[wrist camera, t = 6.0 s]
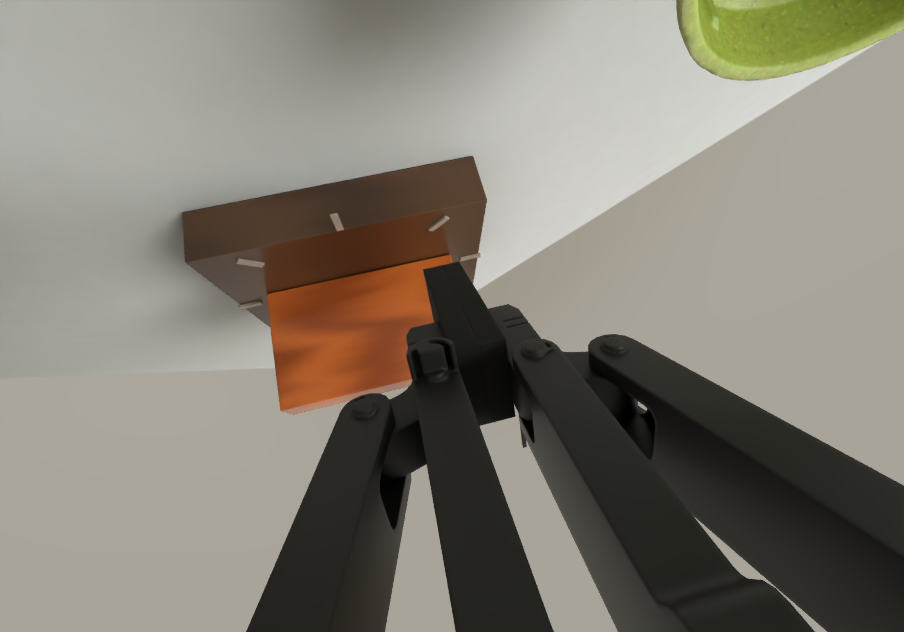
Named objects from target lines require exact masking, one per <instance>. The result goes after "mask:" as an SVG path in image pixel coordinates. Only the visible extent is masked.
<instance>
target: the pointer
mask: <svg viewBox="0 0 904 632" xmlns="http://www.w3.org/2000/svg"><path fill="white" fill-rule="evenodd" d="M450 263H453V262H452V258H451V255H445V256H440V257H436V258H431V259H426V260H422V261H417V262H412V263H408V264H403V265H399V266H394V267H389V268H385V269H380V270H375V271H371V272H366V273H362V274H357V275H352V276H348V277H343V278H339V279H334V280H329V281H325V282H320V283H315V284H311V285H306V286H302V287H297V288H292V289H288V290H283V291H278V292H274V293H269V294H267V303H268V312H269V320H270V328H271V336H272V344H273V353H274V361H275V369H276V377H277V385H278V394H279V402H280V410H281V411H283V412H287V413H290V414H298V413H302V412H306V411H310V410H314V409H319V408H322V407H326V406H331V405H335V404H339V403H343V402H347V401H351V400H352V399H354V398H356V397H359V396H361V395H365V394H369V393H384V392H388V391H392V390H396V389H401V388H404V387H409V386H410V385H411V383H412V378H411V374H410V370H409V366H408V362H407V358H406V354H407V350H408V345H407V340H406V335H407V333H408V332H409V330H410V328H412V327H416V326H421V325H425V324H429V323H434V320H433V315H432V310H431V306H430V301H429V296H428V291H427V286H426V282H425V277H424V272H423V269H427V268H432V267H436V266H441V265H445V264H450Z"/></svg>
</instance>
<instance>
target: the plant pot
mask: <svg viewBox="0 0 904 632" xmlns="http://www.w3.org/2000/svg"><path fill="white" fill-rule="evenodd" d="M677 17H678V24H679V29H680V32H681V35H682V38H683V41H684V43H685V45H686V47H687V49H688V51H689V54H690V56H691V57H692V58H693V60H694V61H695V62H696V63H697V64H698V65H699V66H700V67H702V68H704V69H706V70H707V71H709V72H710V73H712V74H714V75H717V76H719V77H722V78H725V79H731V80H746V81H753V80H765V79H770V78H777V77H782V76H787V75H789V74H793V73H797V72H801V71H804V70H809V69H812V68H815V67H818V66H821V65H824V64H826V63H828V62H831V61H834V60H837V59H839V58H841V57H844V56H846V55H849V54H851V53H854V52H856V51H859V50H861V49H863V48H865V47H867V46H870V45H872V44H874V43H876V42H878V41H880V40H883V39H885V38H887V37H890V36H892V35H894V34H896V33H898V32H899V31H902V30H904V0H677Z"/></svg>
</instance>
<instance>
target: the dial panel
mask: <svg viewBox="0 0 904 632" xmlns="http://www.w3.org/2000/svg"><path fill="white" fill-rule="evenodd" d="M486 202H487V198H486V195H485V192H484V189H483V186H482V183H481V179H480V176H479V173H478V170H477V167H476V164H475V161H474V157H473V156H470V157H465V158H460V159H455V160H450V161H445V162H440V163H434V164H429V165H424V166H419V167H414V168H409V169H404V170H399V171H393V172H388V173H383V174H378V175H373V176H368V177H363V178H358V179H353V180H347V181H342V182H337V183H332V184H327V185H322V186H317V187H312V188H306V189H301V190H296V191H291V192H286V193H281V194H276V195H271V196H265V197H260V198H255V199H250V200H245V201H240V202H235V203H230V204H225V205H219V206H214V207H209V208H204V209H199V210H194V211H189V212H184V213H182V220H183V237H184V254H185V262H186V263H187V264H188V265H190V266H191V267H192V268H193V269H195V270H196V271H197V272H199V273H200V274H201V275H203V276H204V277H205V278H206V279H208V280H209V281H210V282H212V283H213V284H214V285H216V286H217V287H218V288H219V289H221V290H222V291H223V292H225V293H226V294H227V295H229V296H230V297H231V298H233V299H234V300H235V301H236V302H238V303H239V304H240V305H239V308H240V309H245V308H246V309H247V310H248V311H249V312H251V313H252V314H253V315H255V316H256V317H257V318H259V319H260V320H261V321H262V322H264V323H265V324H266V325H268V326H269V327H270V320H269V312H268V303H267V294H269V293H274V292H278V291H283V290H288V289H292V288H297V287H302V286H306V285H311V284H315V283H320V282H325V281H329V280H334V279H339V278H343V277H348V276H352V275H357V274H362V273H366V272H371V271H375V270H380V269H385V268H389V267H394V266H399V265H403V264H408V263H412V262H417V261H422V260H426V259H431V258H436V257H440V256H445V255H451V258H452V262H453V263H455V262H460V264H461V265H462V267H463V269H464V270H465V272H466V274H467V275H468V277H469V279H470V280H471V282H472V284H473V280H474V274H475V268H476V262H477V258H478V257H480V253H478V250H479V244H480V238H481V232H482V226H483V220H484V214H485V208H486Z"/></svg>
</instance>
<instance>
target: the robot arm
mask: <svg viewBox="0 0 904 632" xmlns="http://www.w3.org/2000/svg"><path fill="white" fill-rule="evenodd" d="M423 272H424V277H425V282H426V286H427V291H428V296H429V301H430V306H431V310H432V315H433V320H434V323H429V324H425V325H421V326H416V327H412V328H410V330H409V332H408V333H407V335H406V340H407V345H408V350H407V354H406V358H407V362H408V366H409V370H410V374H411V378H412V383H411V385H410V386H409V387H408V389H407V390H406V391H404V392H403V393H402V394H400V395H398V396H396V397H395V398H392V399H390V400H389V399H388V398H387V397H386V396H385V395H382V394H380V393H369V394H365V395H361V396H359V397H356V398H354V399H352V400H351V401H350V402H348V403H347V404H346V405H345V406H344V407H343V409H342V410H341V412H340V414H339V417H338V419H337V421H336V424H335V426H334V428H333V431H332V433H331V435H330V438H329V440H328V443H327V445H326V447H325V449H324V452H323V454H322V456H321V459H320V461H319V463H318V466H317V468H316V470H315V473H314V475H313V477H312V480H311V482H310V484H309V487H308V489H307V491H306V494H305V496H304V498H303V501H302V503H301V505H300V508H299V510H298V512H297V515H296V517H295V519H294V522H293V524H292V526H291V529H290V531H289V533H288V536H287V538H286V540H285V543H284V545H283V547H282V550H281V552H280V554H279V557H278V559H277V561H276V564H275V566H274V569H273V571H272V573H271V575H270V578H269V580H268V582H267V585H266V587H265V589H264V592H263V594H262V596H261V599H260V601H259V603H258V606H257V608H256V610H255V613H254V615H253V617H252V620H251V622H250V624H249V627H248V629H247V631H246V632H385V627H386V622H387V616H388V611H389V605H390V599H391V593H392V587H393V582H394V576H395V570H396V565H397V559H398V553H399V547H400V542H401V536H402V529H403V524H404V519H405V513H406V507H407V501H408V495H409V490H410V484H411V472H413V471H415V470H416V469H418V468H420V467H422V466H424V465H426V464H427V468H428V474H429V480H430V485H431V491H432V497H433V503H434V508H435V515H436V520H437V526H438V532H439V538H440V543H441V549H442V555H443V560H444V566H445V572H446V578H447V584H448V589H449V595H450V601H451V607H452V613H453V618H454V624H455V630H456V632H554V631H553V629H552V626H551V624H550V621H549V618H548V615H547V613H546V610H545V607H544V604H543V602H542V599H541V596H540V593H539V591H538V588H537V585H536V582H535V579H534V576H533V574H532V571H531V568H530V565H529V563H528V560H527V557H526V554H525V552H524V549H523V546H522V543H521V540H520V538H519V535H518V532H517V529H516V527H515V524H514V521H513V518H512V515H511V513H510V510H509V507H508V504H507V502H506V499H505V496H504V493H503V490H502V488H501V485H500V482H499V479H498V476H497V474H496V471H495V468H494V465H493V463H492V460H491V457H490V454H489V451H488V449H487V446H486V443H485V440H484V437H483V435H482V432H481V429H480V425H484V424H488V423H492V422H496V421H500V420H504V419H507V418H512V417H515V410H514V405H515V407H516V409H517V410H518V413H519V421H520V429H521V437H522V445H523V448H524V447H526V446H527V445H526V440H527V442H528V444H529V446H530V448H531V450H532V452H533V455H534V457H535V459H536V461H537V463H538V465H539V467H540V469H541V471H542V473H543V475H544V478H545V480H546V482H547V484H548V486H549V488H550V490H551V492H552V494H553V497H554V499H555V501H556V503H557V505H558V507H559V509H560V511H561V513H562V515H563V517H564V520H565V521H566V523H567V526H568V528H569V530H570V532H571V534H572V536H573V538H574V541H575V543H576V545H577V547H578V549H579V551H580V553H581V555H582V557H583V559H584V561H585V563H586V566H587V568H588V570H589V572H590V574H591V576H592V578H593V580H594V582H595V584H596V587H597V589H598V590H599V593H600V595H601V597H602V599H603V601H604V603H605V605H606V607H607V610H608V612H609V614H610V616H611V618H612V620H613V622H614V624H615V626H616V628H617V631H618V632H814V630H813V629H812V628H811V627H810V626H809V624H808V623H807V622H806V621H805V620H804V619H803V617H802V616H801V615H800V614H799V613H798V612H797V611H796V609H795V608H794V607H793V606H792V605H791V603H790V602H789V601H788V600H787V599H786V598H785V597H783V595H782V594H781V593H780V592H779V591H778V590H777V589H776V588H778V589H779V590H780V591H781V592H782V593H783V594H784V595H786V596H787V597H788V598H789V599H790V600H791V601H793V602H794V603H795V604H796V605H797V606H798V607H800V608H801V609H802V610H803V611H804V612H805V613H806V614H808V615H809V616H810V617H811V618H812V619H814V620H815V621H816V622H817V623H818V624H819V625H820V626H821V627H823V628H824V629H825V630H826V631H827V632H904V486H903V485H901V484H900V483H898V482H896V481H894V480H892V479H890V478H888V477H887V476H885V475H883V474H881V473H879V472H878V471H876V470H874V469H872V468H870V467H868V466H866V465H865V464H863V463H861V462H859V461H857V460H855V459H854V458H852V457H850V456H848V455H846V454H844V453H843V452H841V451H839V450H837V449H835V448H833V447H831V446H830V445H828V444H826V443H824V442H822V441H820V440H819V439H817V438H815V437H813V436H811V435H809V434H807V433H805V432H804V431H802V430H800V429H798V428H796V427H794V426H793V425H791V424H789V423H787V422H785V421H783V420H781V419H780V418H778V417H776V416H774V415H772V414H771V413H768V412H767V411H765V410H763V409H761V408H760V407H758V406H756V405H754V404H752V403H750V402H748V401H747V400H745V399H743V398H741V397H739V396H737V395H736V394H734V393H732V392H730V391H728V390H726V389H724V388H723V387H721V386H719V385H717V384H715V383H713V382H712V381H710V380H708V379H706V378H704V377H702V376H700V375H699V374H696V373H695V372H693V371H691V370H689V369H688V368H686V367H684V366H682V365H680V364H678V363H676V362H675V361H673V360H671V359H669V358H667V357H665V356H664V355H661V354H660V353H658V352H656V351H654V350H653V349H650V348H649V347H647V346H645V345H643V344H641V343H640V342H638V341H636V340H634V339H632V338H629V337H627V336H623V335H617V334H611V335H603V336H600V337H597V338H595V339H593V340H592V341H591V342H590V344H589V345H588V352H562V351H561V350H560V349H559V347H558V346H557V345H556V344H554V343H553V342H551V341H548V340H545V339H541V338H540V337H539V335H538V334H537V333H536V331H535V330H534V329H533V328H532V326H531V325H530V323H528V321H527V319H526V318H525V317H524V316H523V314H522V313H521V312H520V310H519V309H517V308H515V307H513V306H511V305H509V304H507V305H503V306H499V307H495V308H490V309H487V307H486V305H485V304H484V302H483V300H482V299H481V297H480V295H479V294H478V292H477V290H476V289H475V287H474V285H473V284H472V282H471V280H470V279H469V277H468V275H467V274H466V272H465V270H464V269H463V267H462V265H461V264H460V262H455V263H450V264H445V265H441V266H436V267H432V268H427V269H423ZM638 401H639V402H640V403H641V404H643V405H644V406H645V407H647V411H646V410H644V409H642V408H641V407H639V406H638ZM693 516H694V517H696V518H697V519H698V520H699V521H700V522H701V523H703V524H704V525H705V526H706V527H707V528H708V529H709V530H711V531H712V532H713V533H714V534H715V535H716V536H717V537H719V538H720V539H721V540H722V541H723V542H725V543H726V544H727V545H728V546H729V547H730V548H732V549H733V550H734V551H735V552H736V553H737V554H738V555H739V556H741V557H742V558H743V559H744V560H745V561H746V562H748V563H749V564H750V565H751V566H752V567H753V568H754V569H756V570H757V571H758V572H759V573H760V574H761V575H763V576H764V577H765V578H766V579H767V580H768V581H770V582H771V583H772V584H773V585H774V586H775V587H776V588H774V587H773V586H771V585H769V584H768V583H766V582H765V581H763V580H756V579H747V578H746V577H744V576H743V575H741V574H740V573H739V572H738V571H737V570H736V569H735V568H734V567H733V566H732V564H731V563H730V562H729V561H728V559H727V558H726V557H725V555H724V554H723V553H722V552H721V550H720V549H719V548H718V547H717V545H716V544H715V543H714V542H713V541H712V539H711V538H710V537H709V535H708V534H707V533H706V532H705V530H704V529H703V528H702V527H701V525H700V524H699V523H698V522H697V520H696V519H695V518H694V517H693Z"/></svg>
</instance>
